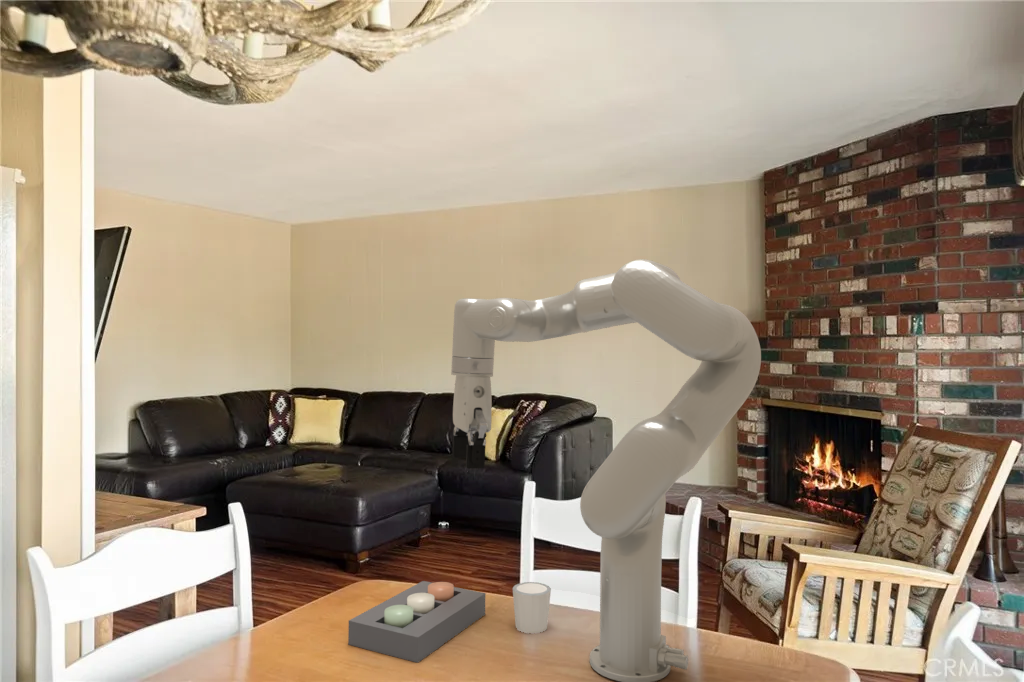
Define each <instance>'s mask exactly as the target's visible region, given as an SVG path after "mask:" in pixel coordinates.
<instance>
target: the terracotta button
mask: <svg viewBox="0 0 1024 682" xmlns="http://www.w3.org/2000/svg"><path fill="white" fill-rule="evenodd" d="M454 587H455V586H454V584H453V583H451V582H448V581H436V582H431V584H429V585H428V593H429V594H432V595H434V600H438V601H443V602H446V601H448V600H450V599H451V598H453V597H454Z"/></svg>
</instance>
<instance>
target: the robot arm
mask: <svg viewBox="0 0 1024 682" xmlns="http://www.w3.org/2000/svg"><path fill="white" fill-rule="evenodd" d="M637 323H638V324H639V325H640V326H641V327H643V328H645V329H646V330H648V331H649V332H650V333H652V334H654V335H655V336H656V337H658V338H659V339H660V340H662V341H664V342H665V343H667V345H669V346H671V347H673V348H674V349H676V350H677V351H679V352H680V353H682V354H684V355H685V356H687V357H689V358H691V359H694V360H696V361H701V363H700V364H699V366H698V367H697V369H696V370H695V372H694V373H693V374H692V375H691V376H690V377H689V378H688V379H687V380H686V381H685V383H683V385H682V386H681V387H680V389H679V390H678V392H677V393H676V394H675V396H674V397H673V398H672V400H671V401H670V402H669V403H668V404H667V405H666V407H664V408H663V410H662V411H660V413H659V414H657V415H655V416H651V417H649V418H646V419H643V420H642V421H640V422H638V423H636V424H635V425H634V426H633V427H632V428H630V430H628V431H627V433H625V434H624V436H623V437H622V438H621V440H620V441H619V442H618V443H617V444H616V446H615V447H614V448H613V450H612V451H611V452H610V453H609V455H608V456H607V457H606V458H605V460H604V461H603V462H602V464H601V465H600V466H599V467H598V468H597V470H595V473H593V475H592V476H591V477H590V479H589V480H588V482H587V483H586V485H585V487H584V488H583V490H582V493H581V497H580V500H579V502H580V503H579V504H580V507H579V509H580V514H581V517H582V520H583V523H584V524H585V525H586V527H587V528H588V529H589V530H590V531H591V532H592V533H594V534H595V535H597V536H599V537H600V538H601V540H600V541H601V542H600V570H599V571H600V573H599V574H600V581H599V582H600V585H599V591H600V593H599V602H600V604H599V644H598V645H596V646H595V647H593V648H592V650H591V651H590V653H589V664H590V666H591V667H592V669H593V670H594V671H595V672H596V673H598V674H600V675H601V676H602V677H605V678H607V679H610V680H614V681H616V682H657V681H659V680H662V679H664V678H665V677H667V676H668V675H669V674H670V672H671V666H672V667H675V668H677V669H682V670H688V666H689V656H688V655H684V654H685V653H684V649H682V648H677V647H670V645H669V644H667V636H666V635H663V634H661V633H662V632H661V631H662V626H661V625H662V567H663V566H662V563H663V561H662V557H663V556H662V554H663V553H662V551H663V537H664V535H663V533H664V525H665V523H664V522H665V517H666V516H665V515H666V505H667V501H666V500H667V498H666V497H667V496H666V493H667V492H668V491H669V490H670V489H671V488H672V486H673V485H674V484H675V483H676V482H677V481H678V480H679V479H680V478H681V477H683V476H684V475H686V474H687V473H689V472H690V471H691V470H693V469H694V468H695V466H697V465H698V463H699V461H700V460H701V458H702V456H703V455H704V454H705V453H706V451H707V450H708V448H710V446H711V445H712V444H713V443H714V441H715V440H716V439H717V438H718V436H720V434H721V433H722V431H723V430H724V429H725V428H726V426H727V425H728V423H729V422H730V421H731V419H732V418H733V417H734V416H735V415H736V413H737V412H738V411H739V410H740V409H741V407H742V406H743V405H744V403H745V402H746V400H747V399H748V398H749V396H750V394H751V393H752V391H753V389H754V387H755V386H756V383H757V380H758V377H759V375H760V370H761V362H762V349H761V345H760V341H759V337H758V335H757V332H756V329H755V328H754V326H753V325H752V323H751V321H750V320H749V319H748V317H747V316H746V315H745V314H744V313H743V312H742V311H740V310H739V309H738V308H736V307H735V306H732V305H729V304H727V303H726V304H725V303H722V302H721V303H720V302H717V301H715V300H714V299H712V298H710V297H709V296H707V295H705V294H704V293H702V292H700V291H699V290H696V288H693V287H692V286H691V285H689V284H687V283H685V282H684V281H682V280H681V278H680V277H679V275H678V273H677V272H676V271H675V270H674V269H672V268H671V267H669V266H667V265H665V264H662V263H659V262H656V261H654V260H650V259H645V258H644V259H643V258H642V259H634V260H632V261H629V262H627V263H625V264H624V265H622V266H621V267H620V268H619V269H618V270H617V271H616V272H612V273H608V274H602V275H599V276H598V275H597V276H594V277H593V276H592V277H589V278H584V279H581V280H579V281H576V284H575V285H574V288H572V290H570V291H568V292H565V293H562V294H557V295H554V296H549V297H545V298H538V299H534V300H527V299H521V298H513V297H512V298H511V297H496V298H489V299H485V298H471V297H467V298H459V299H458V300H456V302H455V304H454V312H453V333H452V350H451V351H452V352H451V372H450V373H451V375H452V376H455V382H454V389H453V390H454V393H453V401H452V402H453V405H452V423H453V425H454V427H453V435H452V436H453V437H452V439H453V440H452V457H453V458H465V459H466V460H465V467H466V468H467V469H484V467H485V462H486V459H485V458H486V445H487V440H486V437H487V433H490V432H491V430H492V404H493V403H492V399H493V398H492V381H491V378H493V377H494V361H495V347H496V346H495V342H496V341H498V342H499V341H500V342H506V343H507V342H508V343H510V342H512V343H514V342H517V343H518V342H520V343H521V342H522V343H530V342H531V343H534V342H539V341H544V340H549V339H550V340H551V339H556V338H557V339H558V338H560V337H561V338H562V337H567V336H571V335H575V334H581V333H588V332H591V331H597V330H602V329H607V328H611V327H618V326H622V325H623V326H624V325H629V324H637Z"/></svg>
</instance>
